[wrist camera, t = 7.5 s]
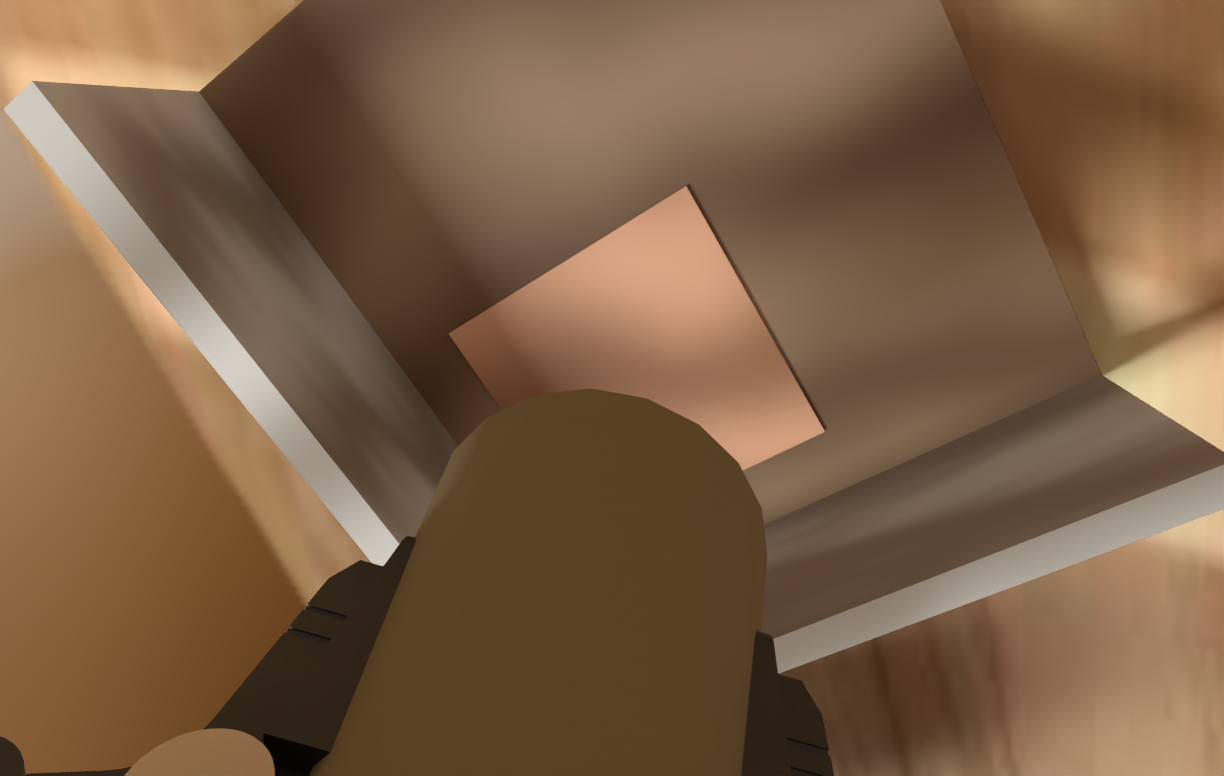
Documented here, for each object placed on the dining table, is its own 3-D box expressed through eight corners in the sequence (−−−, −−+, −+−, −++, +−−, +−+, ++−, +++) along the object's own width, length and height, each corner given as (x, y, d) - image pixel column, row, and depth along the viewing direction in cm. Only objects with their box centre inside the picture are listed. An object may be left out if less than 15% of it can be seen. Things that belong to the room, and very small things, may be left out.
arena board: (1086, 385, 20) (1251, 498, 14) (575, 610, 25) (535, 763, 19) (760, -355, 15) (798, -671, 9) (211, 113, 20) (3, 109, 14)
